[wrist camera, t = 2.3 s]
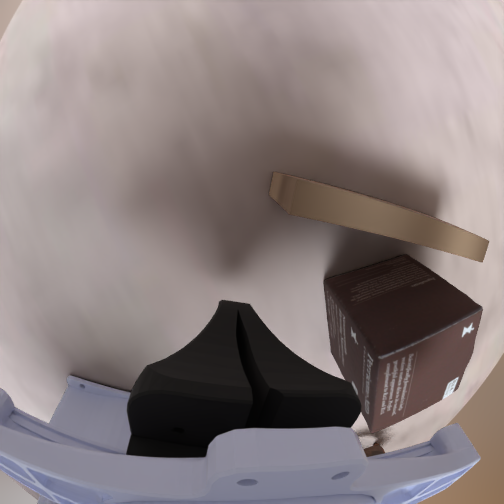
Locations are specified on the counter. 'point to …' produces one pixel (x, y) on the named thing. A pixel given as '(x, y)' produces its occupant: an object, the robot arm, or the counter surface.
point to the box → (399, 337)
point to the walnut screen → (372, 216)
